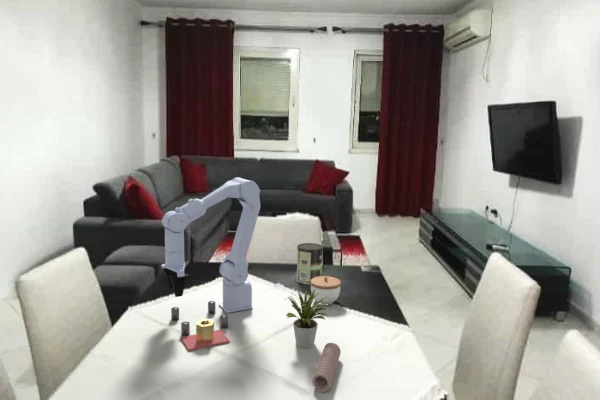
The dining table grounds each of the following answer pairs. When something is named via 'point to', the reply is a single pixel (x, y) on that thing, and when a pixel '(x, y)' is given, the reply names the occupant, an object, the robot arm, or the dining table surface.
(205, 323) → the brass nut
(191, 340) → the red mat
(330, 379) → the coil
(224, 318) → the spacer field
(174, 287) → the robot arm
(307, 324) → the house plant
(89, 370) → the dining table surface
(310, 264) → the coffee can
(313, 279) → the lidded jar
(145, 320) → the dining table surface
